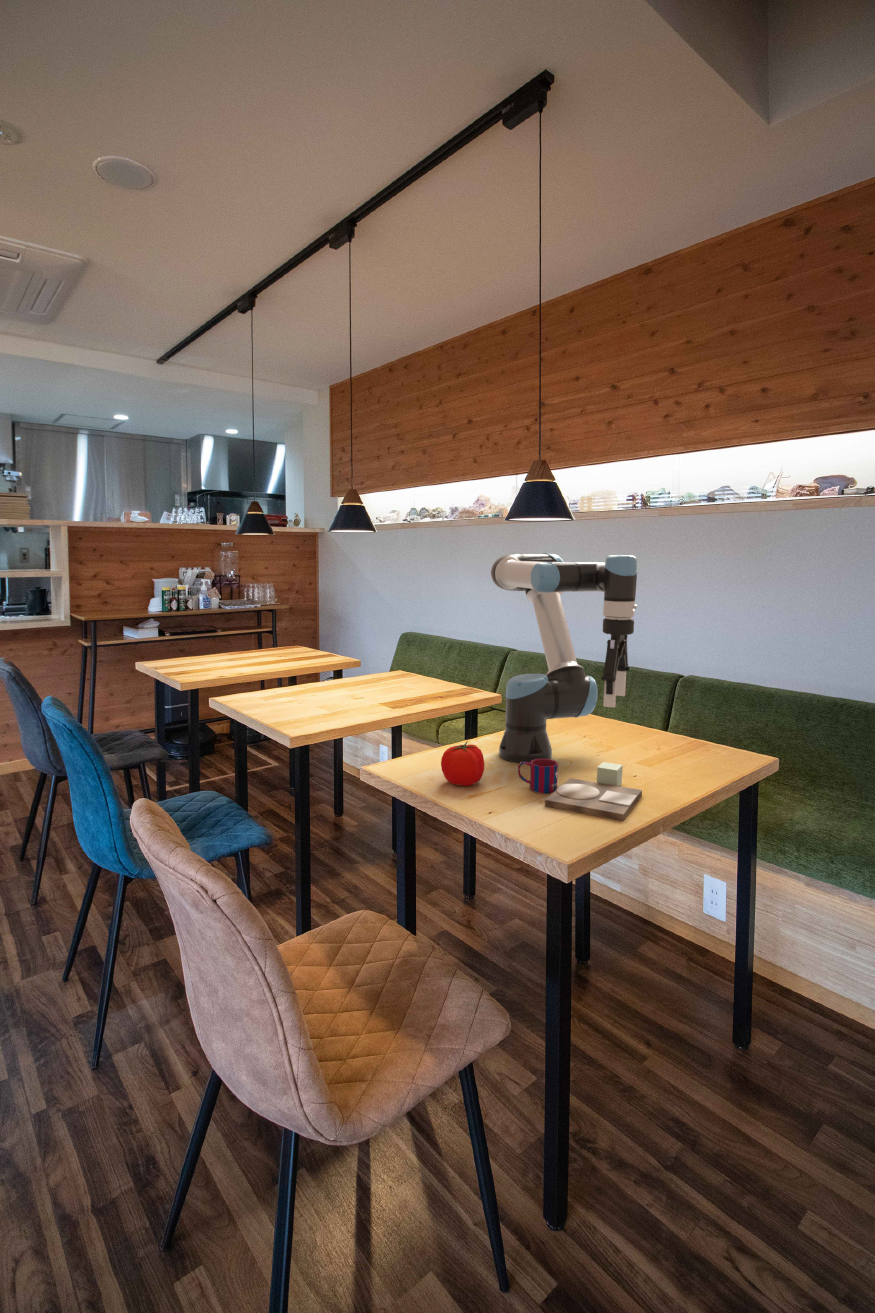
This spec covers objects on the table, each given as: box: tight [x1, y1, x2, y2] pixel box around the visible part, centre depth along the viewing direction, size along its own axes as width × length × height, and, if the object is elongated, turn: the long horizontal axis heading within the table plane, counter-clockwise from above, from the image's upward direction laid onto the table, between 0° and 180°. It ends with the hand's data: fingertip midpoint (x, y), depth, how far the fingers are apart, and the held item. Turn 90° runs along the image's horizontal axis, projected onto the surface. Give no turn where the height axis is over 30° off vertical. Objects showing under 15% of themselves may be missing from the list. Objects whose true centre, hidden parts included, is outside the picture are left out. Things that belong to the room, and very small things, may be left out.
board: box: [544, 777, 643, 822], centre depth 159 cm, size 18×18×2 cm
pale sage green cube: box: [596, 761, 623, 786], centre depth 170 cm, size 5×5×5 cm
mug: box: [517, 758, 559, 794], centre depth 167 cm, size 7×10×7 cm
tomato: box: [440, 740, 485, 787], centre depth 171 cm, size 11×13×10 cm
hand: (614, 701), depth 171 cm, fingers open, 13 cm apart
